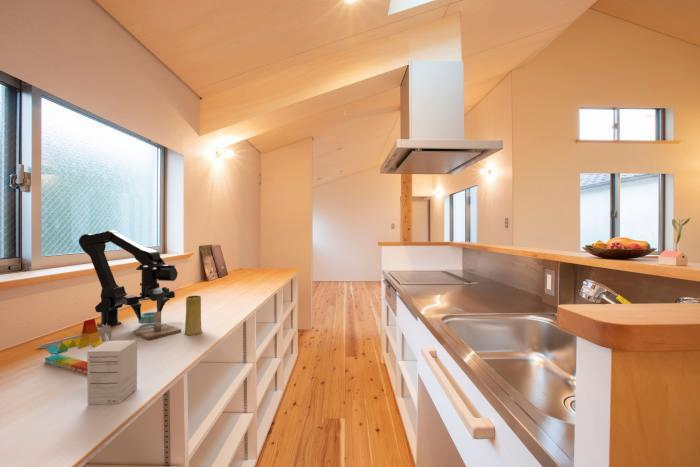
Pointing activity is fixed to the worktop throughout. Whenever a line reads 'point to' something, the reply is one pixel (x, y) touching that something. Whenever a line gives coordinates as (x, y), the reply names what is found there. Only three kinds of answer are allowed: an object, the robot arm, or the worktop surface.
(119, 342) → the supplement box
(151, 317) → the ring
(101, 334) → the caliper
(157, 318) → the post stand
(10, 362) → the worktop surface
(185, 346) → the worktop surface
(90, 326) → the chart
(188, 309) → the vase
